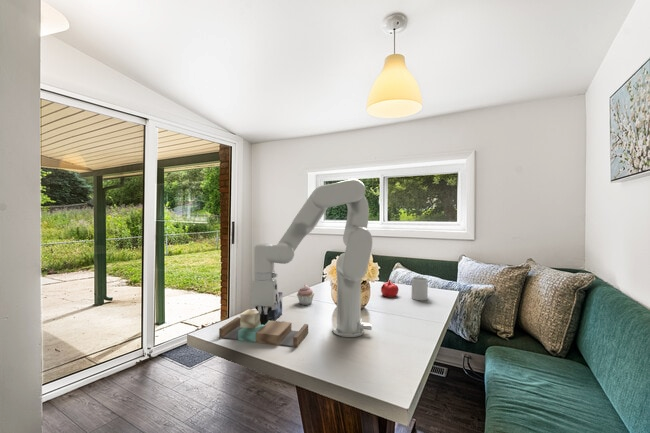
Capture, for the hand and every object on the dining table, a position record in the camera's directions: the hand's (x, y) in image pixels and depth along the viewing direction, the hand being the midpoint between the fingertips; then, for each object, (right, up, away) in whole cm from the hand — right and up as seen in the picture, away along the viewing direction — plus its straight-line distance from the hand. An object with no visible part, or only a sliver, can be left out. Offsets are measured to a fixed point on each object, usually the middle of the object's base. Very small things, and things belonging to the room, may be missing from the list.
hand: (264, 323), depth 117 cm
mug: (+77, -5, +53) cm, 94 cm away
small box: (0, -5, +20) cm, 21 cm away
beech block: (-5, -1, +1) cm, 6 cm away
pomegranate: (+60, -5, +58) cm, 84 cm away
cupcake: (+13, -4, +42) cm, 44 cm away
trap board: (0, -5, 0) cm, 5 cm away
